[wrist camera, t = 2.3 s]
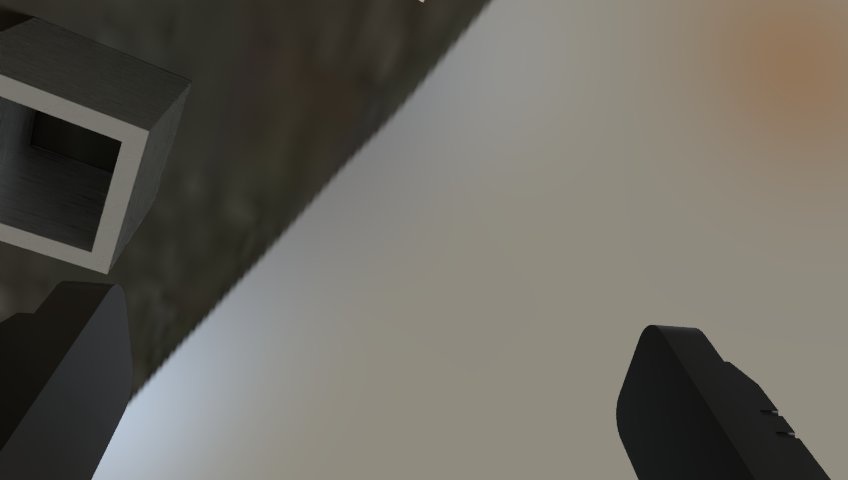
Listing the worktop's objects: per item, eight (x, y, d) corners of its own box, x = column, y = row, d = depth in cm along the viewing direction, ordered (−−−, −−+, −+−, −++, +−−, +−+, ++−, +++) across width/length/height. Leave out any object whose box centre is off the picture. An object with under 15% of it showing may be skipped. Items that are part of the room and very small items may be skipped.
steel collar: (9, 151, 27) (-75, 216, 22) (35, 17, 25) (-53, 54, 19) (153, 202, 29) (107, 274, 23) (191, 81, 26) (149, 131, 21)
